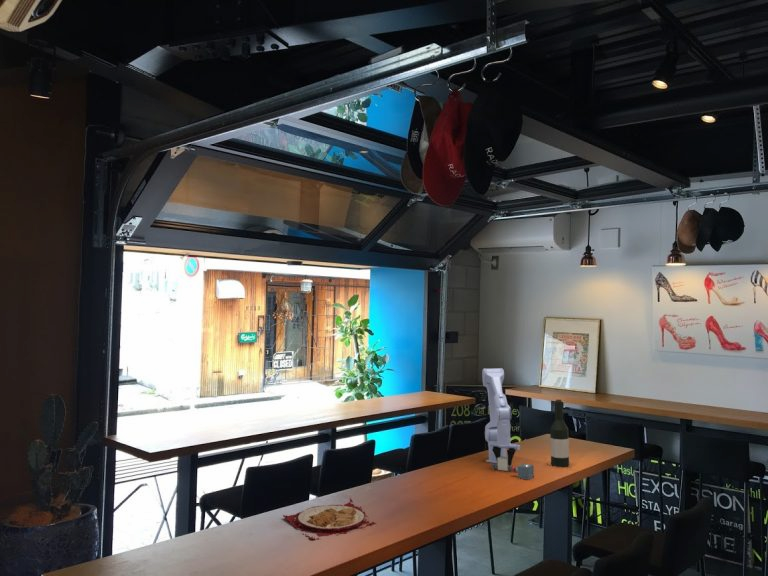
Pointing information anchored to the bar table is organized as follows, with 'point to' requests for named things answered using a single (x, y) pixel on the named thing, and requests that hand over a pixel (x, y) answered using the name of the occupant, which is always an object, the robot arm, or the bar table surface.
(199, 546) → the bar table surface
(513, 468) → the plunger
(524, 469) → the gauge cabinet
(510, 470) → the rail
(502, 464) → the carriage
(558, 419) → the wine bottle
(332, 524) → the plate with food
